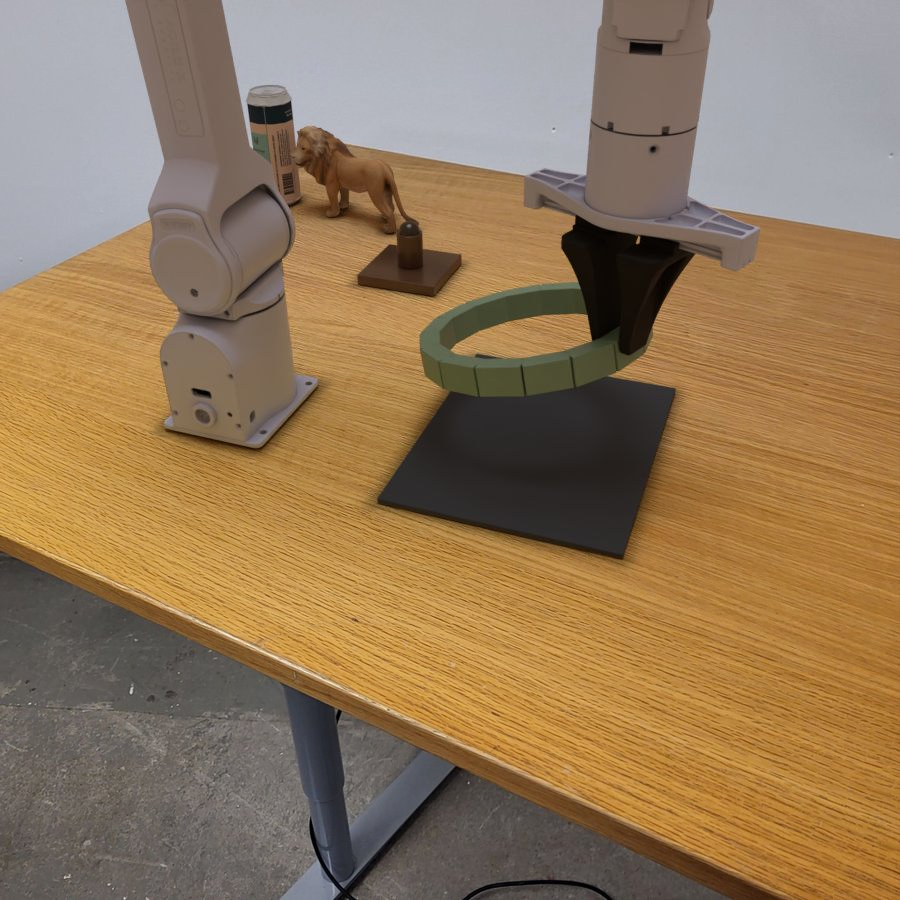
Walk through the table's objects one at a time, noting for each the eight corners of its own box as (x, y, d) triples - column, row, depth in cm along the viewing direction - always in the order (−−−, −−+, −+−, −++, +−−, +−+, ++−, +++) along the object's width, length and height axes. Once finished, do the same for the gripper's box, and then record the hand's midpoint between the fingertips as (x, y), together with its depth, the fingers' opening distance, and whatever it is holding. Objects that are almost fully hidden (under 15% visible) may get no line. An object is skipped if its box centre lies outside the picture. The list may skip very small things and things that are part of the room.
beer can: (306, 193, 106) (295, 84, 99) (296, 209, 102) (284, 96, 95) (265, 192, 107) (251, 83, 100) (253, 208, 103) (238, 95, 96)
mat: (622, 559, 56) (623, 554, 56) (377, 503, 60) (376, 498, 60) (675, 392, 71) (676, 388, 71) (476, 357, 76) (476, 353, 75)
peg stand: (433, 296, 85) (432, 242, 82) (357, 284, 87) (353, 231, 84) (461, 263, 90) (461, 212, 87) (389, 253, 93) (387, 202, 90)
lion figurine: (289, 214, 101) (279, 130, 96) (317, 199, 105) (309, 117, 100) (407, 238, 95) (403, 150, 90) (431, 221, 99) (430, 135, 94)
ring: (626, 396, 54) (623, 364, 53) (389, 398, 60) (383, 369, 59) (668, 303, 67) (666, 276, 66) (468, 312, 73) (464, 288, 72)
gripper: (804, 130, 49) (756, 357, 57) (578, 83, 57) (564, 287, 65) (738, 163, 44) (696, 404, 52) (503, 108, 52) (498, 323, 60)
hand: (619, 342), depth 58 cm, fingers closed on ring, 1 cm apart
